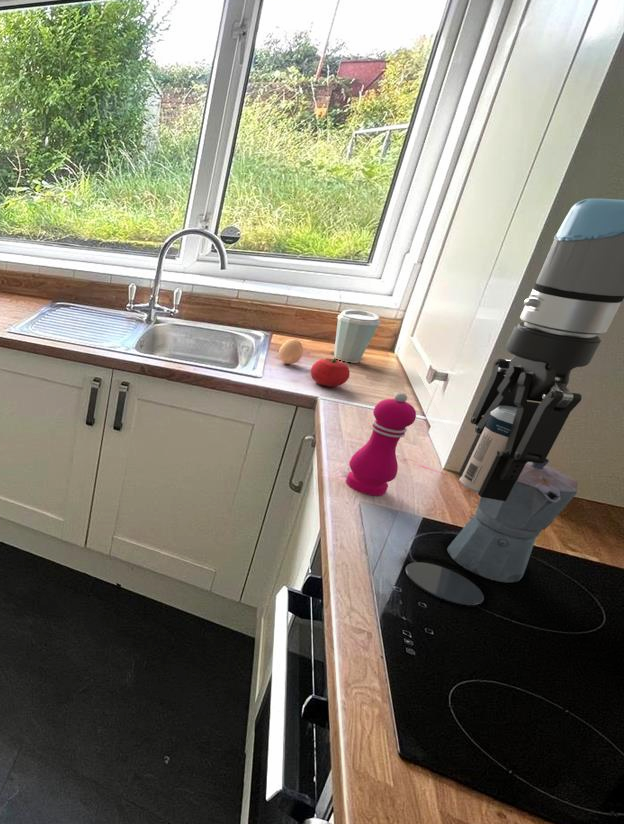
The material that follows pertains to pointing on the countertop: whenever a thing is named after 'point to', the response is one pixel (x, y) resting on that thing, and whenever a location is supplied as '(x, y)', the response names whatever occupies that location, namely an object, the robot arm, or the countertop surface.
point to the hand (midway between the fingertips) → (481, 487)
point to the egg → (291, 351)
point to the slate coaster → (444, 583)
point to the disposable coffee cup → (354, 334)
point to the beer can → (488, 447)
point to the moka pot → (512, 524)
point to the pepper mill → (381, 447)
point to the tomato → (330, 372)
